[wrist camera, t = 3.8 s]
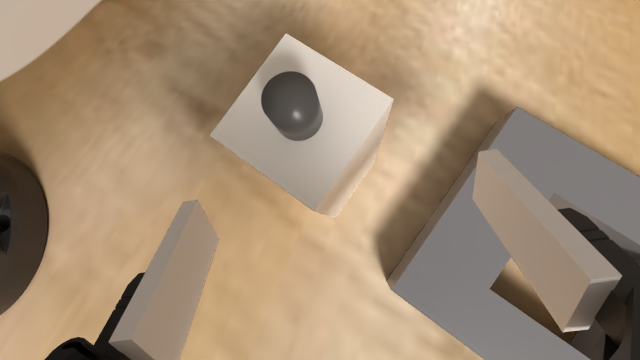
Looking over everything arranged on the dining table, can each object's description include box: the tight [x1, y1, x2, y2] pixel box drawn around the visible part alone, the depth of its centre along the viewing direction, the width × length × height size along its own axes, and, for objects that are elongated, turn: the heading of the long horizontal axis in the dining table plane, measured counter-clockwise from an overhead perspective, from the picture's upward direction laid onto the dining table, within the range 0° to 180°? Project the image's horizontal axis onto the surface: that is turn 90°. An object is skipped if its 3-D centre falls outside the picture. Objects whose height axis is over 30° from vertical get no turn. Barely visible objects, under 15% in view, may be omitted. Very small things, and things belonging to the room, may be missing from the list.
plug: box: [210, 33, 394, 218], centre depth 16 cm, size 5×5×14 cm
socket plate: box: [387, 107, 640, 360], centre depth 19 cm, size 16×14×4 cm
